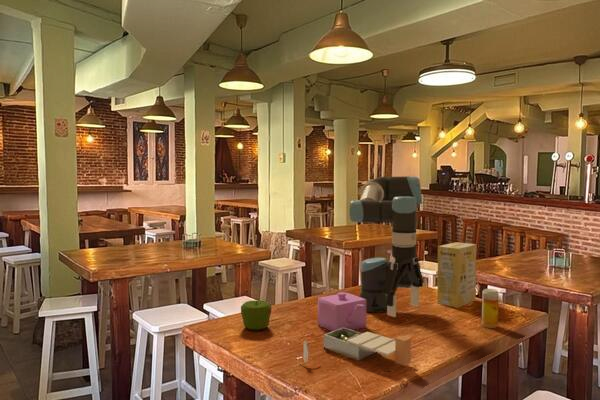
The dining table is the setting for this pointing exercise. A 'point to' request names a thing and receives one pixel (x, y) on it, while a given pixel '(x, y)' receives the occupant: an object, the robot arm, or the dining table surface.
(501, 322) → the dining table surface
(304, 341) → the stand
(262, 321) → the apple
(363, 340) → the lid
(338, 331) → the grey rectangular box
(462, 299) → the pasta box
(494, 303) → the beer can
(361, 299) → the purple knobbed cube
